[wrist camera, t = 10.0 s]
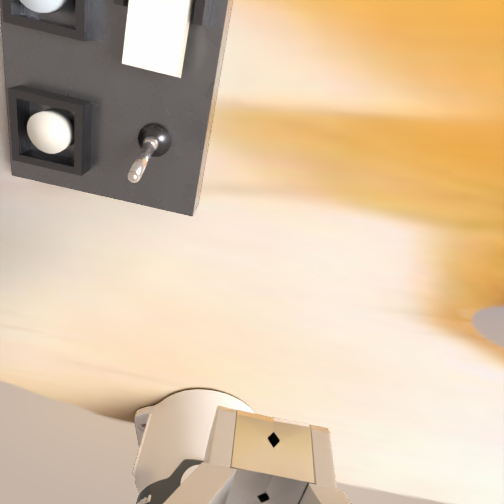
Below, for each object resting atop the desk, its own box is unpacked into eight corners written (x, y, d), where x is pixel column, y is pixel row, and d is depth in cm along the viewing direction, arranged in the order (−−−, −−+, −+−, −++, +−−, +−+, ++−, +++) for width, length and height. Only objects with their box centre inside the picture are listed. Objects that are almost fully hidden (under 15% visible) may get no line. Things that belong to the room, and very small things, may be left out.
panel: (198, 203, 40) (186, 230, 34) (30, 164, 39) (-8, 186, 34) (247, -83, 29) (239, -106, 24) (16, -145, 28) (-43, -182, 23)
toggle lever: (160, 147, 34) (140, 188, 30) (145, 143, 33) (124, 184, 30) (160, 134, 33) (140, 175, 29) (145, 131, 33) (123, 171, 29)
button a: (74, 153, 34) (67, 157, 33) (35, 144, 34) (27, 148, 33) (74, 114, 33) (67, 117, 32) (34, 105, 33) (25, 107, 32)
